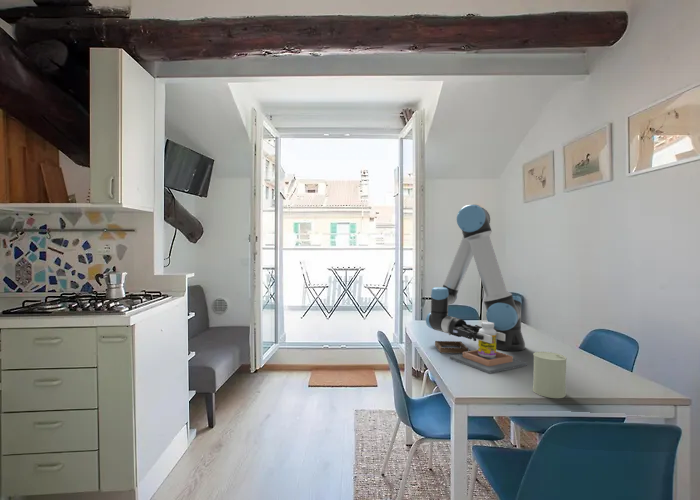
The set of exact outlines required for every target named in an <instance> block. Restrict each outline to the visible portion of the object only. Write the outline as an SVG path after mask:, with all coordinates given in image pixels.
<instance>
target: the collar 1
mask: <svg viewBox="0 0 700 500" xmlns="http://www.w3.org/2000/svg"><path fill="white" fill-rule="evenodd" d="M434 341H435V342H434V345H435V347H436V349H437V350H438V351H439V353H441V354H442V353H443V354H463V352H466V351H469V348H468V347H467V346H466V344H464V343H463V341H459V340H457V341H454V340H453V341H451V340H434Z"/></svg>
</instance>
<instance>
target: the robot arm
mask: <svg viewBox="0 0 700 500" xmlns="http://www.w3.org/2000/svg"><path fill="white" fill-rule="evenodd" d="M456 223H457V225H458V228H459V229H460V230H461V234H462V238H461V240H460V243H459V245H458V248H457V250H456V253H455V255H454V257H453V260H452V262H451V265H450V267H449V270H448V272H447V274H446V277H445V280H444V282H443V284H442V286H436V287H432V289H431V293H430V297H431V298H430V301H431V303H430V312H429V313H428V314H427V315H426V318H425V324H426V326H427V327H428V328H430V329H432V330H434V331H437V332H441V333H445V334H448V335H449V336H451V335H452V336H455V337H458V338H461V337H463V338H465V339H468V340H472V341H474V342H477V341H478V340H481V341H484V342H488V343H492V336H490V335H487V334H483V333H479V329H481V328H482V325H481V326H480V325H478V324H475V325H471V324H467V322H466V321H465V320H464V319H462V318H458V317H454V316H451V315H450V316H449V306H450V305H453V304H454V303H455V302H456V301H457V299H458V293H459V290H460V288H461V286H462V283H463V281H464V278H465V275H466V274H467V271H468V268H469V266H470V264H471V261H472V260H474V262H475V266H476V268H477V271H478V274H479V275H478V276H479V277H480V278H479V279H480V281H481V284H482V288H483V290H484V293H485V297H484V299H483V304H484V307H485V310H486V312H485V313H486V314H485V315H486V316H485V317H486V322H492V323H494V330H496V332H497V339H496V350H497V349H498V350H501V351H510V352H519V351H523V350H525V349H526V342H525V339H524V336H523V332H522V304H523V302H522V298H521V296H519V295H517V296H515V295H513V293H512V292H510V291H508V290H507V287H506V284H505V282H504V278H503V274H502V272H501V269H500V265H499V262H498V259H497V256H496V253H495V250H494V246H493V244H492V241H491V237H490V236H491V235H492V228H491V215H490V213H489V211H488V210H486V208H484V207H482V206H480V205H477V204H467V205H464V206H462V208H461V209H459V211H458V213H457V214H456ZM473 258H474V259H473Z"/></svg>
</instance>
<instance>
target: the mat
mask: <svg viewBox="0 0 700 500" xmlns="http://www.w3.org/2000/svg"><path fill="white" fill-rule="evenodd" d="M477 356H478V357H481V358H484V359H487V360H491V359H496V358H497V357H493V358H488V357H482V356H480V355H477ZM449 359H450V360H453V361H455V362H458V363H460V364H463V365H467V366H469V367H472V368H474V369H477V370H480V371H482V372H484V373H487V374H494V373H498V372H502V371H508V370H512V369H515V368H516V369H517V368H520V367H521V368H522V367H526V366H527V362H525V361H521V360H519V359H516V358H513V362H508V363H503V364H498V365H493V366H486V365H483V364H480V363H478V362H475V361H472V360H469V359H467V358H464V357H463V353H457V354H453V355H449Z"/></svg>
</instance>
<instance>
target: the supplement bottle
mask: <svg viewBox="0 0 700 500" xmlns="http://www.w3.org/2000/svg"><path fill="white" fill-rule="evenodd" d="M481 327H482V328H481V329H479V333H483V334H487V335H490V336H492V343H488V342H484V341H481V340H478V339H477V341H478V343H477V347H478V349H477V350H478V354H479V355H480V356H482V357H488V358H493V357H495V356H496V351H497V349H496V339H497V332H496V330H494V323H492V322H488V321H482V322H481Z"/></svg>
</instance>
